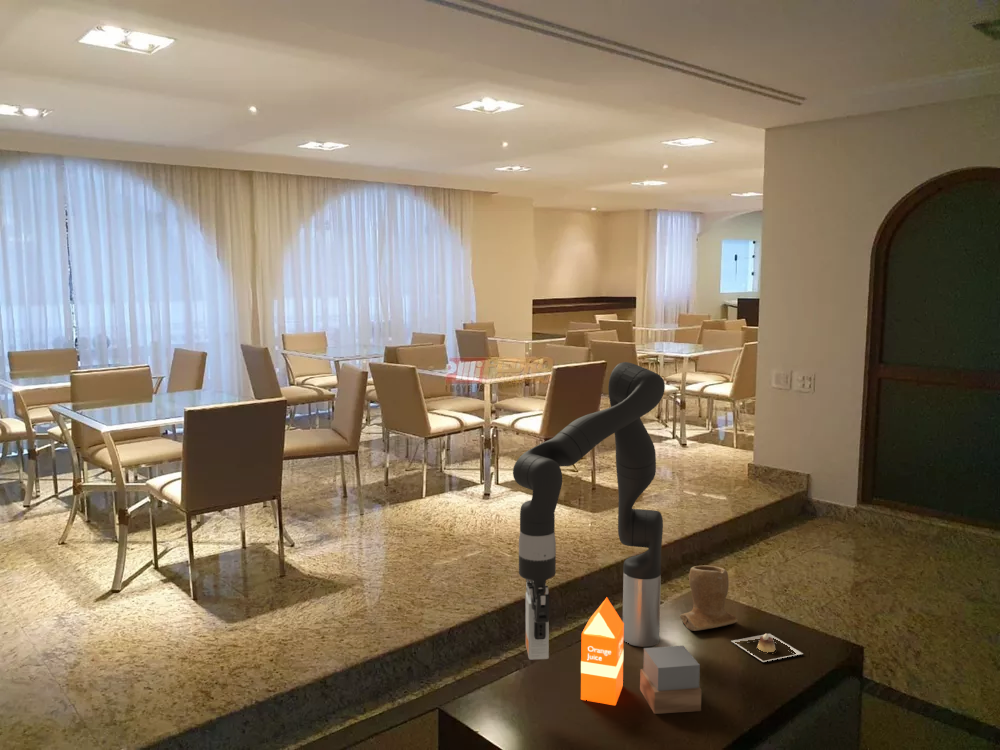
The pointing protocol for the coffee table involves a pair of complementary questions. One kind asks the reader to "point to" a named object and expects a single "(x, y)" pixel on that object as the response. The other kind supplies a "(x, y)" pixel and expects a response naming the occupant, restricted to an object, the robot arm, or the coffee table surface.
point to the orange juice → (602, 656)
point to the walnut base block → (669, 697)
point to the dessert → (766, 645)
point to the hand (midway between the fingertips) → (537, 631)
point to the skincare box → (534, 646)
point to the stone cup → (708, 599)
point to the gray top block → (671, 668)
